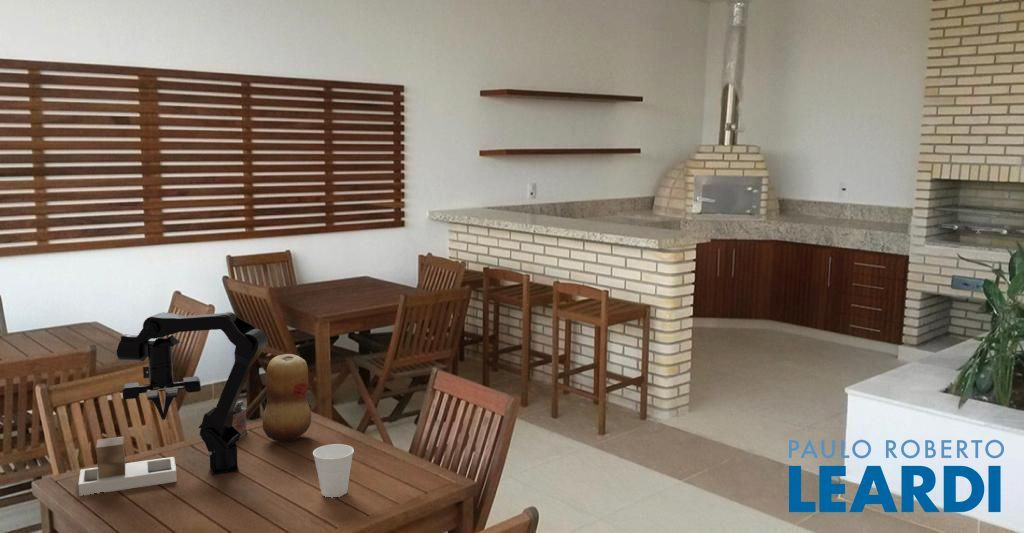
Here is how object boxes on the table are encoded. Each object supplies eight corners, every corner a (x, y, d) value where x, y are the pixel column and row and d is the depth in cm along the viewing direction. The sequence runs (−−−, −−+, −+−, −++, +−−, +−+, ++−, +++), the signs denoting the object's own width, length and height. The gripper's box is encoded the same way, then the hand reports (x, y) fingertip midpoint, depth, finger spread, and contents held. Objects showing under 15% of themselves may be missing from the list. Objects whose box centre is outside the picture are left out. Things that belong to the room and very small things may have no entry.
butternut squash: (286, 452, 230) (283, 365, 226) (253, 442, 237) (250, 358, 233) (322, 437, 242) (320, 354, 238) (289, 428, 249) (287, 348, 245)
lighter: (235, 441, 238) (234, 408, 236) (225, 440, 239) (223, 407, 237) (249, 431, 246) (248, 399, 244) (239, 431, 246) (238, 398, 245)
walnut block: (125, 466, 211) (123, 436, 210) (125, 474, 206) (123, 444, 205) (99, 469, 209) (97, 439, 208) (98, 478, 204) (96, 447, 202)
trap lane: (174, 467, 219) (174, 456, 218) (176, 481, 210) (176, 470, 209) (81, 480, 209) (80, 469, 209) (79, 496, 200) (78, 484, 200)
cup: (319, 505, 197) (318, 461, 195) (309, 489, 206) (308, 447, 204) (359, 497, 201) (359, 454, 200) (348, 482, 210) (347, 441, 208)
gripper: (196, 351, 226) (198, 405, 229) (121, 357, 219) (124, 414, 221) (199, 360, 216) (202, 418, 219) (120, 368, 209) (124, 427, 211)
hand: (163, 419), depth 218 cm, fingers closed
